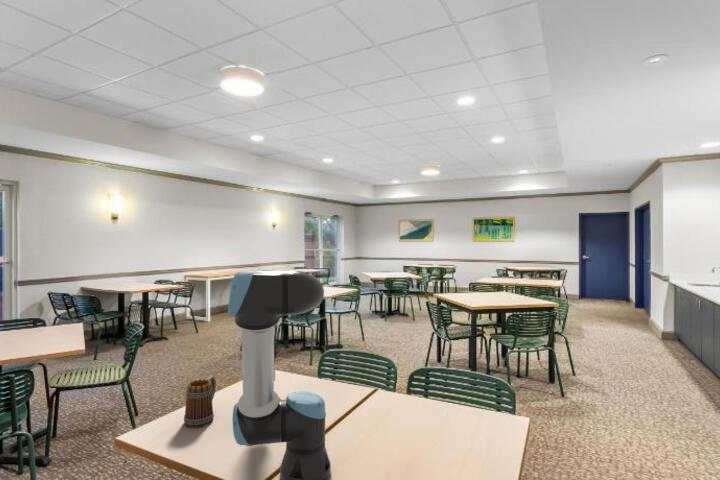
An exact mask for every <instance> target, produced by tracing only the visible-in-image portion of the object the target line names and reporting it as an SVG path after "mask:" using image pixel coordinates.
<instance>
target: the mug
mask: <svg viewBox="0 0 720 480" xmlns="http://www.w3.org/2000/svg"><path fill="white" fill-rule="evenodd" d="M216 380H217V379H216V378H215V377H214V376H207V377H206V379H202V378H201V379H197V380H196V379H195V380H192V381H189V383H187V387H186V392H185V393H186V394H185V397H186V398H185V399H186V400H185V411H184V416H183V422H184V425H185V426H186V427H188V428H190V429H192V428H193V429H197V428H202V427H206V426H208V425H209V424H211V423H212V422H213V420H214V409H213V399H214V398H215V394H216V388H217V387H216V386H217V382H216Z"/></svg>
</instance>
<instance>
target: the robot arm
mask: <svg viewBox="0 0 720 480" xmlns="http://www.w3.org/2000/svg"><path fill="white" fill-rule="evenodd" d="M230 286H231V287H230V292H229V298H228V299H229V300H228V308H227V315H228V317H231V318H234V322H235V325H236V326H237V328H239V329H240V330H241V331H240V332H241V335H240V336H241V364H242V365H241V366H242V369H241V370H242V395H241V396H240V397H239V399H238V402H236V403H234V406H233V407H232V408H233V409H232V431H233V438H234V440H235V442H236V444H238V445H239V446H249V447H251V446H256V445H257V446H258V445H260V446H261V445H268V444H279V443H280V444H282V443H286V444H285V445H286V447H285V451H284V454H283V457H282V460H281V464H280V466H279V478H280V480H328V479H329V477H330V476H331V473H332V471H331V461H330V458H329V455H328V451H327V448H326V417H327V413H326V403H325V402H326V401H325V399H324V398H323V397H321V396H320V395H319V394H316V393H315V392H311V391H305V390H304V391H303V390H302V391H301V390H300V391H299V390H298V391H294V392H290V393H289V394H287V396H286V398H285V399H286V400H279V397H280V396H279V395H278V393H277V392H276V391H275V381H274V367H275V361H276V360H275V356H276V355H275V352H276V351H275V350H276V349H275V348H276V346H275V345H276V344H275V341H276V336H275V328H276V327H277V325H278V323H279V322H280V320H281V319H280V318H281V317H282V316H297V315H301V314H305V313H308V312H310V311H312V310H314V309H316V308H317V307H318V306H320V305H321V303H322V302H323V300H324V295H325V294H324V293H325V290H324V287H323V284H322V283H321V281H320V280H319V279H318V278H316V277H315V276H314V275H311V274H309V273H306V272H301V271H296V270H246V271H238V272H236V273H235V274H234V275H233V277H232V281H231V285H230Z"/></svg>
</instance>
